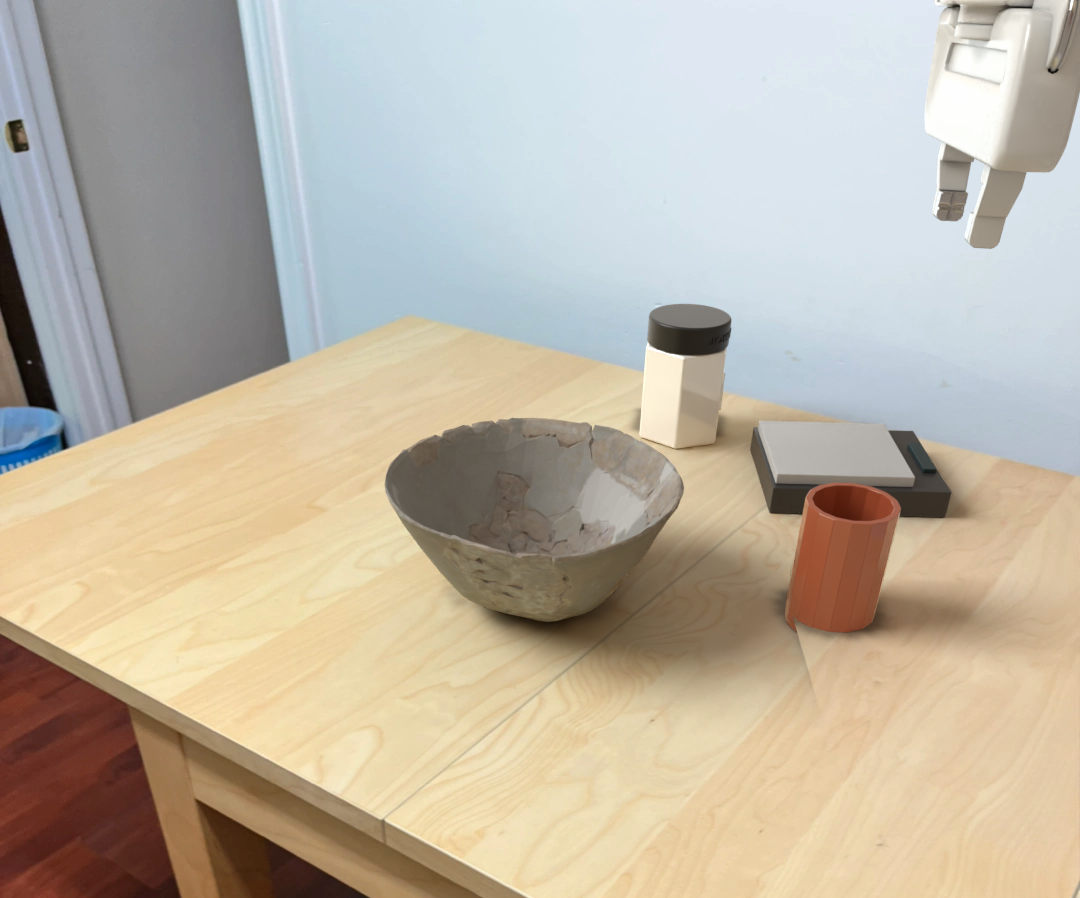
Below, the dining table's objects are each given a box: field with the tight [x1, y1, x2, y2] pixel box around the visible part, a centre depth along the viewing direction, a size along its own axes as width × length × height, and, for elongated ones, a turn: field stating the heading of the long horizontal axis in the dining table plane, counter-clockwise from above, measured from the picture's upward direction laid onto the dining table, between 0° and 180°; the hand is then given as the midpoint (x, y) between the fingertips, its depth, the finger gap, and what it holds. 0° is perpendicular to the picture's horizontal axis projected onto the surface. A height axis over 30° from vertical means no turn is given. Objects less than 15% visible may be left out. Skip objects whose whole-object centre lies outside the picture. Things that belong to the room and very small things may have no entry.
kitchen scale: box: [749, 420, 953, 518], centre depth 99 cm, size 16×14×4 cm
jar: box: [639, 303, 732, 450], centre depth 106 cm, size 9×8×12 cm
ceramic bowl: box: [384, 417, 685, 623], centre depth 81 cm, size 22×23×10 cm
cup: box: [784, 483, 901, 633], centre depth 78 cm, size 7×7×10 cm
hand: (961, 232), depth 68 cm, fingers open, 8 cm apart
